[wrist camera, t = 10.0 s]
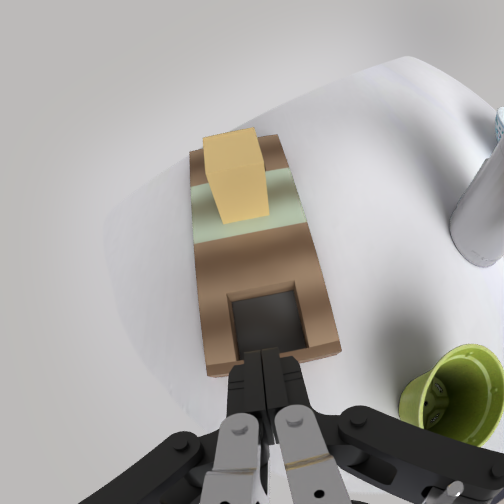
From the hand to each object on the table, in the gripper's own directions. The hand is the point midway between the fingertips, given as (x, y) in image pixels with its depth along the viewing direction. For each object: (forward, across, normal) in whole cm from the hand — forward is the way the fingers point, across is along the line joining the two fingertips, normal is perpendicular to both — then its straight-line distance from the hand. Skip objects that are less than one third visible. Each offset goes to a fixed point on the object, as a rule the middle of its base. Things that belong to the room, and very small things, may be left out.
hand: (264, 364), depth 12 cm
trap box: (+22, 0, 0) cm, 22 cm away
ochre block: (+22, 0, -4) cm, 23 cm away
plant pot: (+6, -14, +16) cm, 22 cm away
